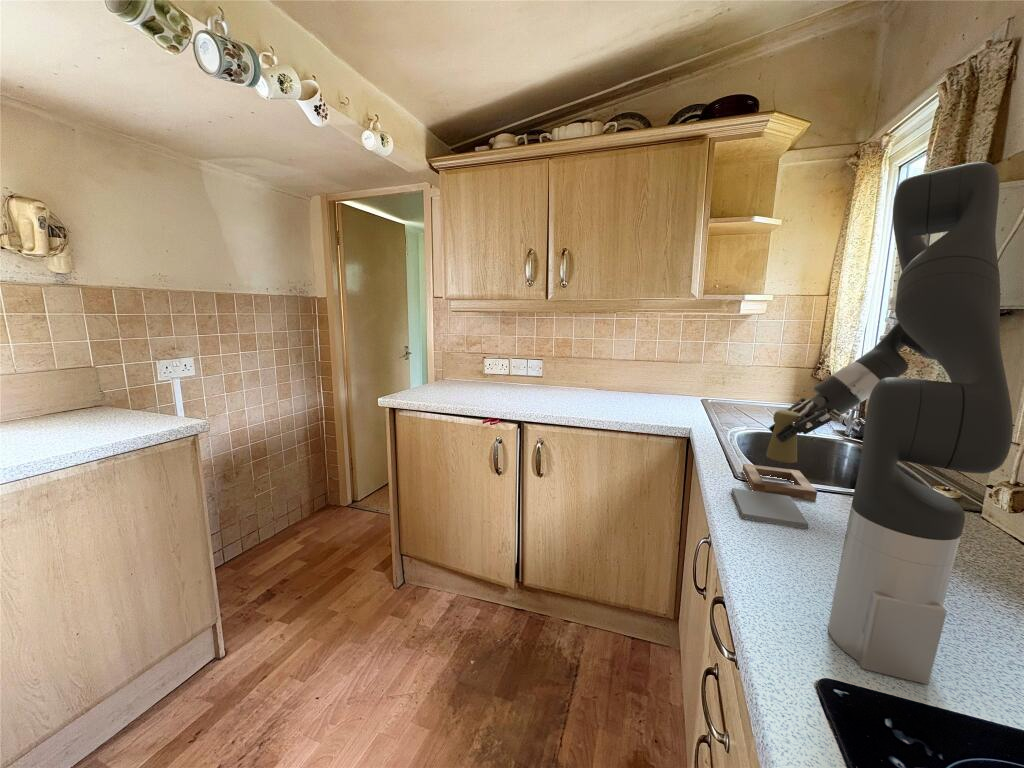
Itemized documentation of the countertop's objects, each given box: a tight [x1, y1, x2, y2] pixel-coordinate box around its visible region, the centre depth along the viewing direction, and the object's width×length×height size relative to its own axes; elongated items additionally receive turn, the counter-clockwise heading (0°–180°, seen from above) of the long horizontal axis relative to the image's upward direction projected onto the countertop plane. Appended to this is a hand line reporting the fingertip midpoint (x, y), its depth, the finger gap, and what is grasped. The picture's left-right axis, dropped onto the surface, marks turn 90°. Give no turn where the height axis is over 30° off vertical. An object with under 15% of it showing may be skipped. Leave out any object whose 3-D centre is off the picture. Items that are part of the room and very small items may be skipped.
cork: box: [765, 409, 798, 464], centre depth 93 cm, size 6×6×11 cm
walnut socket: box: [742, 463, 818, 501], centre depth 96 cm, size 12×12×2 cm
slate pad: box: [731, 487, 810, 530], centre depth 84 cm, size 12×11×1 cm
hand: (775, 435), depth 94 cm, fingers closed on cork, 5 cm apart
